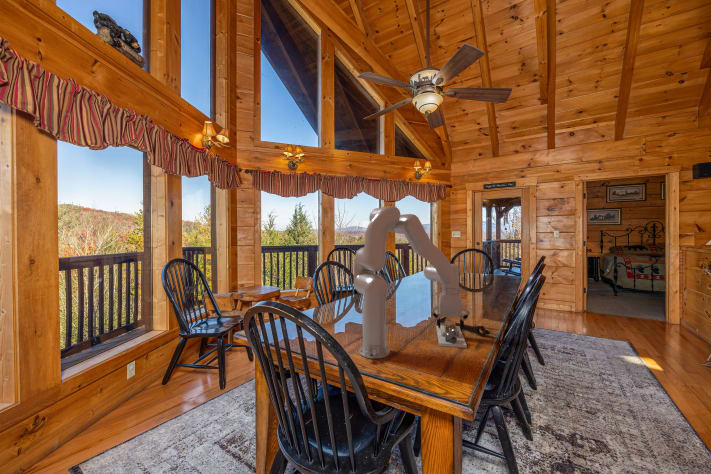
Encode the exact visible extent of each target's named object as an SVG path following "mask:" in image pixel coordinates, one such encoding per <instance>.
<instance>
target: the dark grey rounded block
mask: <svg viewBox="0 0 711 474" xmlns="http://www.w3.org/2000/svg"><path fill="white" fill-rule="evenodd" d="M457 335H458V332H457V331H456V330H455V329H452V330H451V331H450V332H449V333H448V334H446V337H445V342H449V343H452V344H455V343H456V342H457V338H456V336H457Z"/></svg>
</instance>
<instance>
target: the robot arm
mask: <svg viewBox="0 0 711 474" xmlns="http://www.w3.org/2000/svg"><path fill="white" fill-rule="evenodd" d="M368 218H369V219H368V220H369V224H368V225H367V227H366V230H365V234H364V246H363V247H360V248H359V249H358V250H357V252H356V253H355V255H354V261H353V286H354V289H355V290H356V291H357V292H358V293H359V294H361V295H363V296H364V297H363V302H362V306H361V307H362V308H361V313H362V315H361V316H362V317H361V318H362V322H361V323H362V346H360V347H359V349H358V352H359V353H358V354H359V355H360V356H361V357H363V358H367V359H372V360H376V359H377V360H378V359H384V358H386V357H389V355H391V349H390V348H389V346H387V298H388V291H389V289H388V287H389V285H388V282H387V281H386V280H385V278H384V277H383V276H380V275H379V274H375V272H379V271H381V270H383V269H384V267H385V265H386V253H387V252H386V250H387V249H386V247H387V245H386V244H387V236H388V234H389V232H391V233H394V234H395V233H396V234H401V235H402V234H403V235H404V236H405V238H406V240H407V242H408V244H409V245H410V247H411V249H412V250H413V252H414V253H415V254H417V255H418V256H419V257H422V258H423V259H425V260H426V261H427V262H429V264H428V265H426V266H425V267H424V269H423V276H424V277H425V278H426V280H429V281H432V282H437V283H440V284H441V292H440V293H439V295H438V297H439V298H438V305H436V306H433V307H432V308H430V312H431V313H432V316H433V317H434V318H435V319H436V325H437V326H438V327H439V328H440V325H441V322H440V319H442V317H457V318H458V317H459V323H460V330H461V331H463V330H464V329H463V327H464V325H465V320H466V319H468V317H469V316H470V315H471V311H470V309H468V308H466V307H464V306H463V305H462V304H463V302H462V297H461V296H462V295H461V294H460V293H462V292H463V289H462V288H460V287H459V286H460V285H459V283H460V282H459V281H460V279H459V278H460V277H459V274H460V272H459V271H460V269H459V266H458V264H455V263H451V262H450V261H449V258H448V257H447V256H446V255H445V254H444V253H443V252H442V251H441V250H440V248H439V247H437V246H436V244H434V243H433V242H432V240H431V238H430V237H429V235H428V234H427V231H426V229H425V227H424V226H423V224H422V222H421V220H420V218H419V217H418V216H417V214H416V215H415V214H414V213H407V214H406V213H405V214H401V211H400V209H399V208H398V207H397V206H394V205H386V206H382V207H376V208H374V209H372V211H370V213H369V217H368ZM436 311H438V314H437V313H436ZM463 312H465V314H464V315H463Z"/></svg>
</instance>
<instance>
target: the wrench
mask: <svg viewBox="0 0 711 474" xmlns="http://www.w3.org/2000/svg"><path fill="white" fill-rule="evenodd" d="M446 318H448V316H443V317H441V318H440V323H442V324H444V323H445V319H446ZM455 324H456V326H459V327H460V322H459V323H458V322H455ZM463 330H464V331H468V332H471V333H475V335H477V336H479V337H482V338H484V337H485V336H486V335H490V334H491V331H490V330H488V329H486V328H485V326H484V325H476V326H474V325H467V324H464V327H463Z"/></svg>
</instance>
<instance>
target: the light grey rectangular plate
mask: <svg viewBox="0 0 711 474" xmlns="http://www.w3.org/2000/svg"><path fill="white" fill-rule="evenodd" d="M435 326H436V333H437V339H438V346H439V347H446V348H447V347H451V348H461V349H462V348H463V349H464V348H465V349H467V342H466V340H465V337H464V335H463V332H462V330H461V329H460V327H459V326H456V331H457V332H458V335H457V336H456V338H457V342H456V343H455V344H452V343H449V342H445V337H446V336H445V329H444V324H443V325H442V324H440V328H439V327H438V326H437V324H436V325H435Z"/></svg>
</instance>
